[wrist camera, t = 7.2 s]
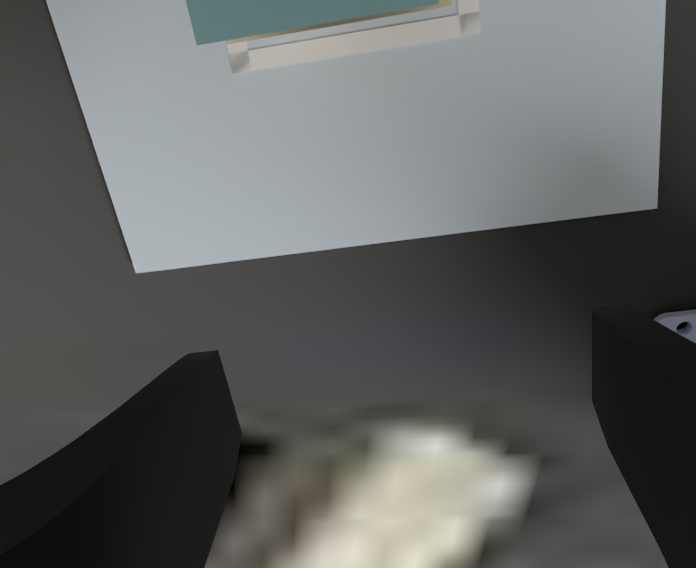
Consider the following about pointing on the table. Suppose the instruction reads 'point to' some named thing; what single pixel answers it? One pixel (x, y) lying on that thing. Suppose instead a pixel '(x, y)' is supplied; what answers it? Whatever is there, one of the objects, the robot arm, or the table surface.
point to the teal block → (279, 15)
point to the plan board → (365, 123)
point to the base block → (342, 22)
